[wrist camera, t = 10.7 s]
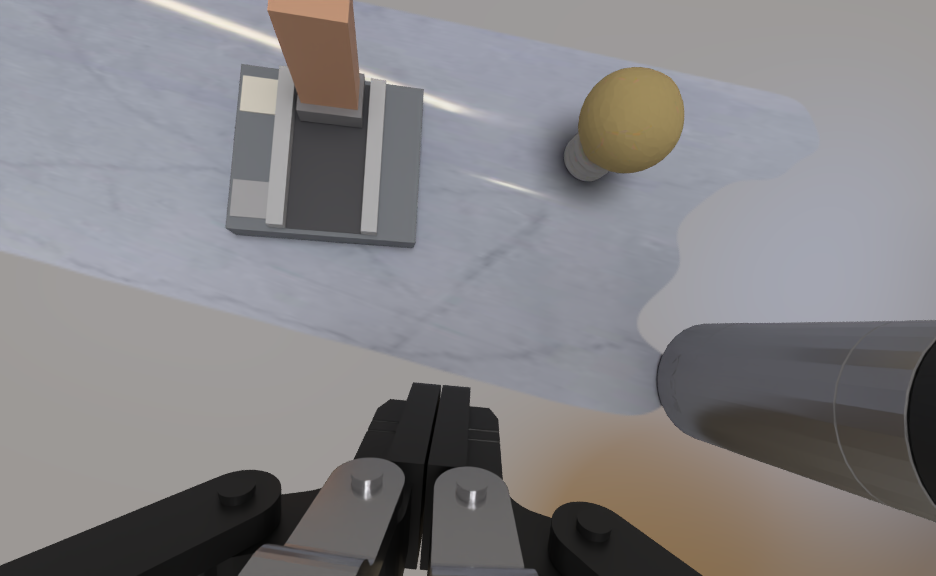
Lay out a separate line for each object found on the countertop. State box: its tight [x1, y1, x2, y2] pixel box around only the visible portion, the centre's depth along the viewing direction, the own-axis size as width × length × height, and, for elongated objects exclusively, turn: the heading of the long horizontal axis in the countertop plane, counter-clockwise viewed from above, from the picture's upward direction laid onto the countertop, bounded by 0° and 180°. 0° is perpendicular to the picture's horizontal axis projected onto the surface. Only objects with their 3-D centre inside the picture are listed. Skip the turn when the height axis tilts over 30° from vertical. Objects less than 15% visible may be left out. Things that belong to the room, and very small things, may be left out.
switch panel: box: [226, 64, 424, 248], centre depth 31 cm, size 12×11×3 cm
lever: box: [268, 0, 365, 128], centre depth 26 cm, size 4×3×10 cm
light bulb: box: [564, 67, 684, 181], centre depth 31 cm, size 6×6×10 cm
